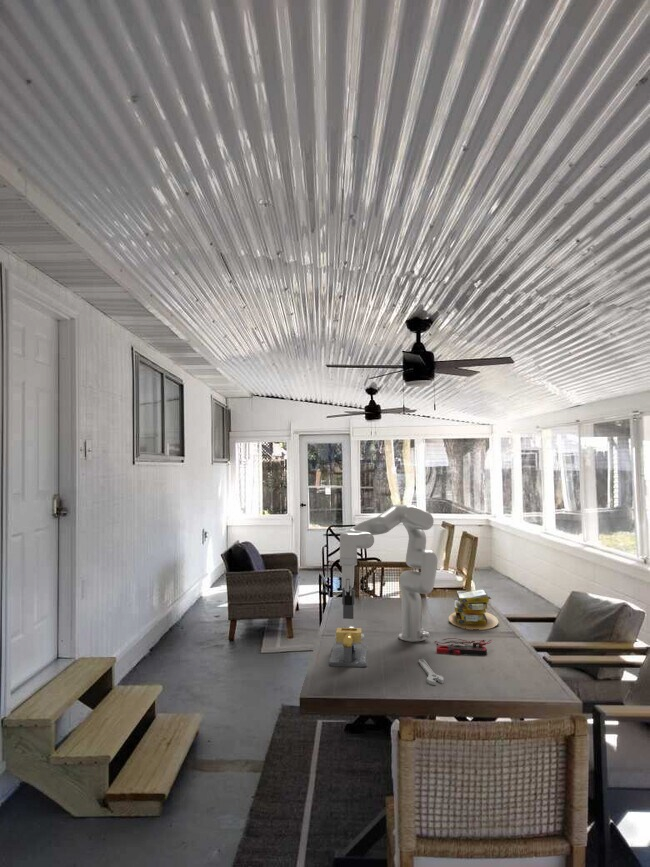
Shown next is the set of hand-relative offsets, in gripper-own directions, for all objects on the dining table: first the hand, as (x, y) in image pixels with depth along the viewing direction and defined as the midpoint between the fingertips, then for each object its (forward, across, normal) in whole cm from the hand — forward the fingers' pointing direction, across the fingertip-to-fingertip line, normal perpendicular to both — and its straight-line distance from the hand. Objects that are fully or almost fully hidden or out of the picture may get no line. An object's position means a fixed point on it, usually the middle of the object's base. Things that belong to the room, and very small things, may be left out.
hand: (348, 603), depth 238 cm
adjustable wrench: (+23, +16, +33) cm, 44 cm away
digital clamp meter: (+22, -17, +51) cm, 58 cm away
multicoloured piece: (+22, 0, 0) cm, 22 cm away
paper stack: (+22, -57, +62) cm, 87 cm away
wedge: (+6, 0, 0) cm, 6 cm away
